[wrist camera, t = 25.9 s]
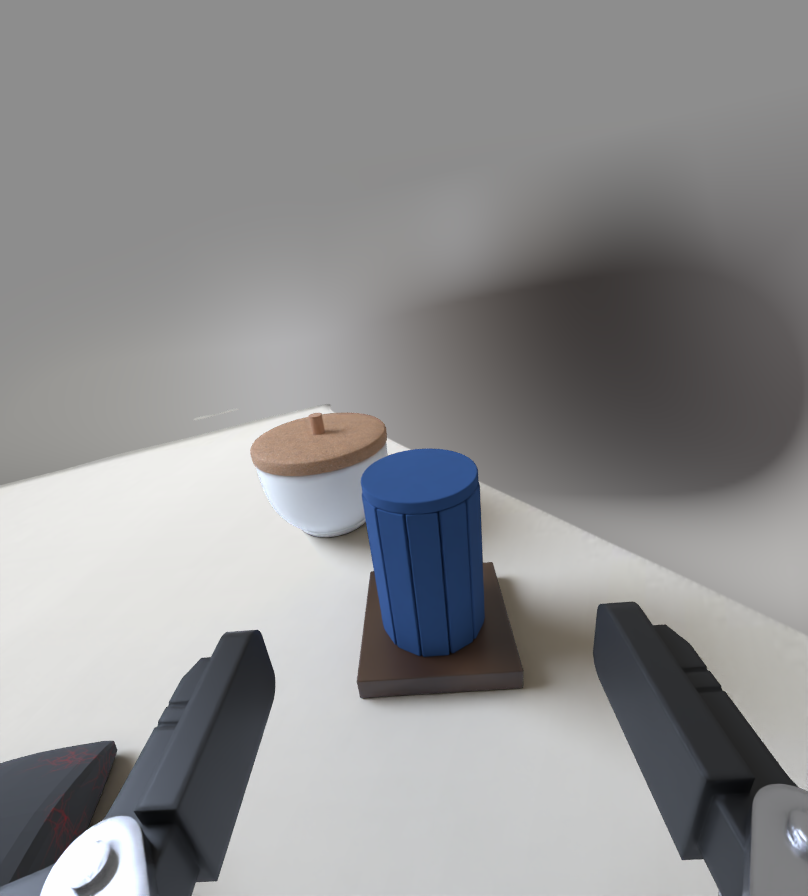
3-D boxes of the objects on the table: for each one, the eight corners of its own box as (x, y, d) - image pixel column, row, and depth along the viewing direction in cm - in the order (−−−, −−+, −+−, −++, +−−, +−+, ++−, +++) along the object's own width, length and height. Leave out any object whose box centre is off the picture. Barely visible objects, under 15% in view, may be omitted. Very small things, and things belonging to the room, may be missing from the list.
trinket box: (315, 482, 43) (296, 394, 39) (413, 491, 39) (402, 394, 35) (245, 545, 34) (212, 438, 30) (364, 565, 30) (343, 445, 26)
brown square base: (492, 576, 28) (490, 464, 24) (523, 688, 20) (524, 550, 17) (372, 585, 28) (354, 476, 25) (360, 698, 21) (331, 565, 17)
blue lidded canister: (475, 576, 26) (469, 443, 22) (492, 652, 21) (487, 496, 17) (386, 583, 26) (366, 453, 23) (381, 660, 21) (353, 507, 18)
